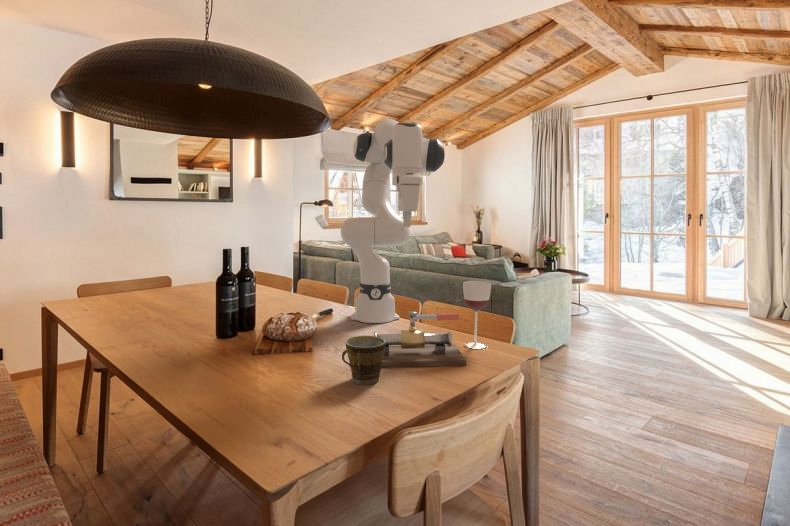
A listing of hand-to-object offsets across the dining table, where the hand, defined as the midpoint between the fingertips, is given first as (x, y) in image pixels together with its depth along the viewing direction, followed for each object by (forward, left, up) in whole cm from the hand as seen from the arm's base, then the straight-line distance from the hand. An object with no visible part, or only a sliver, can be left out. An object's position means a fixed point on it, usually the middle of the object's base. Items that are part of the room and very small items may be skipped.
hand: (407, 227), depth 134 cm
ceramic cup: (+25, -14, -37) cm, 47 cm away
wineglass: (-2, +22, -37) cm, 43 cm away
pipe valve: (+8, +1, -36) cm, 36 cm away
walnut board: (+8, +1, -37) cm, 38 cm away
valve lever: (+8, +7, -28) cm, 30 cm away
